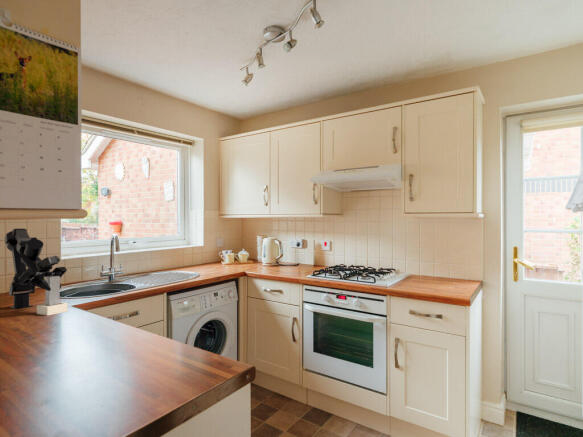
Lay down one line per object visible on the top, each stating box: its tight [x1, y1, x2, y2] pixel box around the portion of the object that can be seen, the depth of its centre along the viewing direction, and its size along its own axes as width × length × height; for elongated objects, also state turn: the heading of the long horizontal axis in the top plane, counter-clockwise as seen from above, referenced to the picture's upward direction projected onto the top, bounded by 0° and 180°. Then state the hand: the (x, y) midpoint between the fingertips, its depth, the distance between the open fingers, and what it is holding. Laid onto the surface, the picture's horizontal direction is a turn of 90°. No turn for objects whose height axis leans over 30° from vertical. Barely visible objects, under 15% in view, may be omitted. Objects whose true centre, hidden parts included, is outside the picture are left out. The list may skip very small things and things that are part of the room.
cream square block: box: [36, 301, 69, 316], centre depth 143 cm, size 8×8×4 cm
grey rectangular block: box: [43, 276, 62, 306], centre depth 144 cm, size 4×4×12 cm
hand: (55, 289), depth 144 cm, fingers closed on grey rectangular block, 5 cm apart
